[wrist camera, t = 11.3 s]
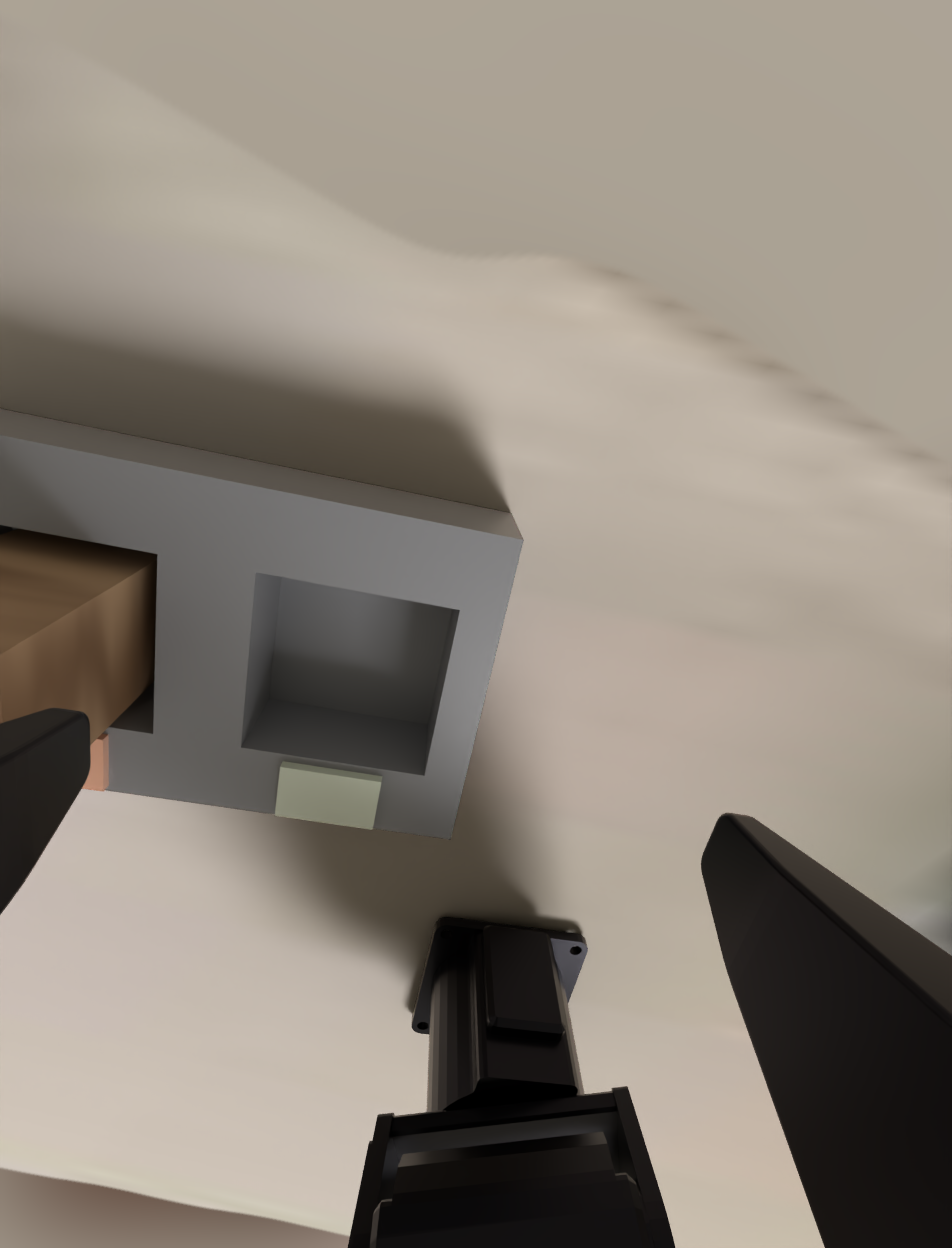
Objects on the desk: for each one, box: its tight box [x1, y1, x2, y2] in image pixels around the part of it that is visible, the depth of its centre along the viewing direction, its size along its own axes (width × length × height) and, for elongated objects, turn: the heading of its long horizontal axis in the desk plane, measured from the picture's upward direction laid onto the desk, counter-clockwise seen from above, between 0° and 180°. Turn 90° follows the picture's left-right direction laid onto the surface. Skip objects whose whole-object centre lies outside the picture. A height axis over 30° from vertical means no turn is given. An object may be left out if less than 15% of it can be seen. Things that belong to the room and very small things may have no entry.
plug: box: [0, 529, 157, 745], centre depth 16 cm, size 4×4×8 cm
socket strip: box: [0, 409, 523, 840], centre depth 18 cm, size 10×16×4 cm, turn 78°
